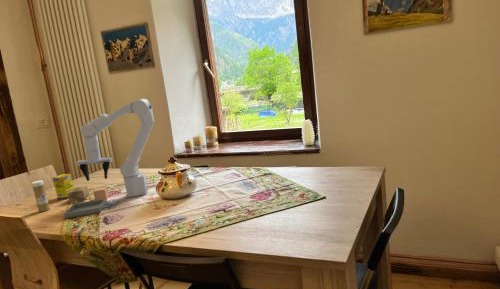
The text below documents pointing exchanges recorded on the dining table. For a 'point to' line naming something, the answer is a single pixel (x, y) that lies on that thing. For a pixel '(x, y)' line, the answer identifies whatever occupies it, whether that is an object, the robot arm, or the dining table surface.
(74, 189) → the oak block
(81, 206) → the tray
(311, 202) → the dining table surface
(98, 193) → the terracotta block
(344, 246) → the dining table surface
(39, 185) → the sprinkles bottle
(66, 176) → the supplement box
